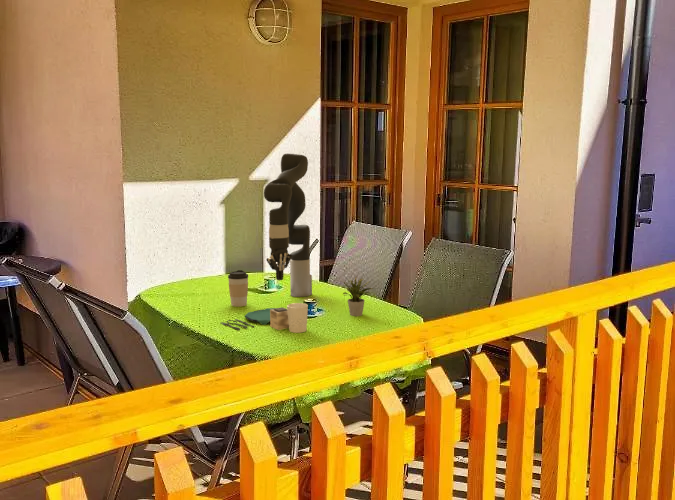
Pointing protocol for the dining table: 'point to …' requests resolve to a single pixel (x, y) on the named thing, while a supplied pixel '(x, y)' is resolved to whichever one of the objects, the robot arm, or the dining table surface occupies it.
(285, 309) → the button cap
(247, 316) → the cutlery set
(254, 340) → the dining table surface
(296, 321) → the tan cylinder
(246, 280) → the coffee cup
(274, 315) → the button box
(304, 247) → the robot arm
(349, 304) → the house plant
